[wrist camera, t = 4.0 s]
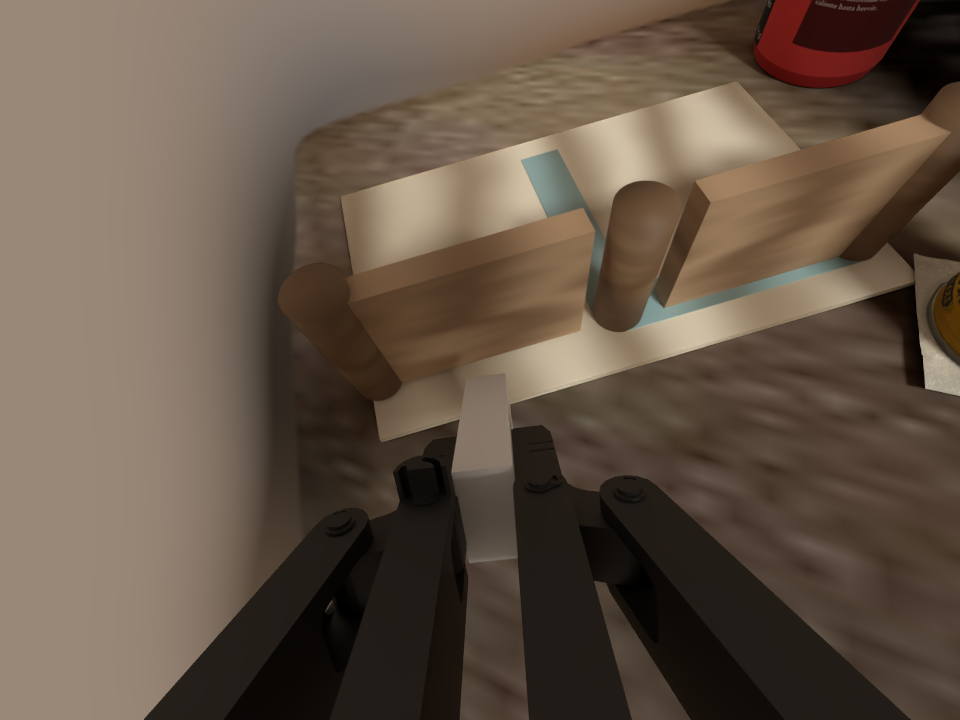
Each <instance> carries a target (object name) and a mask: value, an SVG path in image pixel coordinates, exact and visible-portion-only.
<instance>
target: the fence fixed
mask: <svg viewBox="0 0 960 720" xmlns="http://www.w3.org/2000/svg"><path fill="white" fill-rule="evenodd" d="M959 171H960V81H959V82H954V83H951V84H948V85H946V86H944V87H943V88H942V89H941V90H940V91H939V92H938V94H937V95H936V96H935V97H934V98H933V100H932V101H931V102H930V103H929V105H928V106H927V107H926V108H925V110H924V111H923V112H922V113H921V115H918V116H915V117H911V118H908V119H904V120H901V121H898V122H894V123H891V124H887V125H884V126H880V127H877V128H874V129H870V130H867V131H863V132H860V133H857V134H853V135H850V136H846V137H843V138H839V139H836V140H833V141H829V142H826V143H822V144H819V145H815V146H812V147H809V148H805V149H802V150H798V151H795V152H792V153H788V154H785V155H781V156H778V157H774V158H771V159H768V160H764V161H761V162H757V163H754V164H751V165H747V166H744V167H740V168H737V169H733V170H730V171H727V172H723V173H720V174H716V175H713V176H710V177H706V178H703V179H699V180H696V181H695V182H694V185H693V187H692V190H691V192H690V195H689V198H688V200H687V203H686V206H685V208H684V211H683V214H682V216H681V219H680V222H679V224H678V227H677V230H676V232H675V235H674V238H673V240H672V243H671V246H670V248H669V251H668V253H667V256H666V259H665V261H664V264H663V267H662V269H661V272H660V275H659V277H658V280H657V283H656V285H655V288H654V291H655V293H656V294H657V296H658V298H659V300H660V301H661V303H662V305H663V307H664V308H667V307H670V306H674V305H677V304H680V303H684V302H687V301H691V300H694V299H697V298H701V297H704V296H708V295H711V294H714V293H718V292H721V291H725V290H728V289H731V288H735V287H738V286H741V285H745V284H748V283H752V282H755V281H758V280H762V279H765V278H769V277H772V276H775V275H779V274H782V273H786V272H789V271H792V270H796V269H799V268H803V267H806V266H809V265H813V264H816V263H819V262H823V261H826V260H830V259H833V258H836V257H840V258H843V259H846V260H850V261H864V260H867V259H868V260H869V259H871V258H872V257H873V256H874V255H875V254H876V253H877V252H878V251H879V250H880V249H881V248H882V247H883V246H884V245H885V244H886V243H887V242H888V241H889V240H890V239H891V238H892V237H893V236H894V235H896V234H897V233H898V232H899V231H900V230H901V229H902V228H903V227H904V226H905V225H906V224H907V223H908V222H909V221H910V220H911V219H912V218H913V217H914V216H915V215H916V214H917V213H918V212H919V211H920V210H921V209H922V208H923V207H924V206H925V205H926V204H927V203H928V202H929V201H930V200H931V199H932V198H933V197H934V196H935V195H936V194H937V193H938V192H939V191H940V190H941V189H942V188H943V187H944V186H945V185H946V184H947V183H948V182H949V181H950V180H951V179H952V178H953V177H954V176H955V175H956V174H957V173H958V172H959ZM681 208H682V203H681V199H680V197H679V195H678V194H677V193H676V192H675V191H674V190H673V189H672V188H671V187H669V186H667V185H665V184H663V183H660V182H656V181H646V180H645V181H636V182H632V183H630V184H627V185H625V186H624V187H622V188H621V189H620V190H619V191H618V192H617V193H616V194H615V196H614V199H613V203H612V209H611V214H610V220H609V225H608V230H607V236H606V241H605V247H604V252H603V258H602V263H601V269H600V274H599V280H598V285H597V290H596V296H595V301H594V307H593V314H594V317H595V320H596V322H597V323H598V324H599V325H600V326H601V327H603V328H604V329H606V330H609V331H612V332H625V331H627V330H630V329H632V328H634V327H635V326H636V325H637V324H638V323H639V322H640V320H641V318H642V315H643V312H644V309H645V307H646V304H647V301H648V299H649V296H650V293H651V291H652V288H653V285H654V282H655V280H656V277H657V274H658V272H659V269H660V266H661V264H662V261H663V258H664V255H665V253H666V250H667V247H668V245H669V242H670V239H671V237H672V234H673V231H674V228H675V226H676V223H677V220H678V218H679V215H680V212H681Z"/></svg>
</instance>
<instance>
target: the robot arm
mask: <svg viewBox="0 0 960 720" xmlns="http://www.w3.org/2000/svg"><path fill="white" fill-rule="evenodd" d="M393 474H394V478H395V482H396V486H397V490H398V495H399V499H400V502H399V505H398V508H397V510H396V511H394V512H392V513H389V514H387V515H384V516H381V517H378V518H375V519H372V520H369V518H368V514H367V513H366V512H365V511H364V510H362V509H357V508H349V509H342V510H340V511H339V510H338V511H336V512H334V513H332V514H330V515H328V516H326V517H325V518H323V519H322V520H321V521H320V522H319V523H318V524H317V525H316V526H315V527H314V528H313V529H312V530H311V531H310V533H309V534H308V535H307V536H306V537H305V538H304V539H303V540H302V542H301V543H300V544H299V545H298V546H297V547H296V548H295V549H294V551H293V552H292V553H291V554H290V555H289V556H288V558H287V559H286V560H285V561H284V562H283V563H282V564H281V565H280V566H279V568H278V569H277V570H276V571H275V572H274V573H273V574H272V575H271V577H270V578H269V579H268V580H267V581H266V582H265V583H264V584H263V586H262V587H261V588H260V589H259V590H258V591H257V592H256V594H255V595H254V596H253V597H252V598H251V599H250V600H249V601H248V602H247V604H246V605H245V606H244V607H243V608H242V609H241V610H240V612H239V613H238V614H237V615H236V616H235V617H234V618H233V619H232V621H231V622H230V623H229V624H228V625H227V626H226V627H225V628H224V630H223V631H222V632H221V633H220V634H219V635H218V636H217V638H216V639H215V640H214V641H213V642H212V643H211V644H210V645H209V647H208V648H207V649H206V650H205V651H204V652H203V653H202V654H201V656H200V657H199V658H198V659H197V660H196V661H195V662H194V663H193V665H192V666H191V667H190V668H189V669H188V670H187V671H186V672H185V674H184V675H183V676H182V677H181V678H180V679H179V680H178V682H177V683H176V684H175V685H174V686H173V687H172V688H171V689H170V691H169V692H168V693H167V694H166V695H165V696H164V697H163V698H162V700H161V701H160V702H159V703H158V704H157V705H156V706H155V707H154V709H153V710H152V711H151V712H150V713H149V714H148V715H147V716H146V718H145V719H144V720H459V718H460V702H461V686H462V670H463V654H464V638H465V623H466V607H467V591H468V575H467V570H466V565H465V557H466V551H467V556H468V561H469V563H474V562H484V561H494V560H504V559H513V558H518V568H519V582H520V596H521V610H522V625H523V639H524V653H525V667H526V682H527V696H528V710H529V720H632V719H631V715H630V711H629V708H628V704H627V700H626V697H625V693H624V689H623V686H622V682H621V678H620V675H619V671H618V667H617V664H616V660H615V656H614V653H613V649H612V646H611V642H610V638H609V635H608V631H607V627H606V624H605V620H604V616H603V613H602V609H601V605H600V602H599V598H598V594H597V591H596V587H595V583H594V581H599V582H605V583H607V586H608V588H609V591H610V593H611V594H612V596H613V598H614V599H615V601H616V602H617V604H618V605H619V607H620V609H621V610H622V612H623V613H624V615H625V616H626V618H627V620H628V621H629V623H630V624H631V626H632V628H633V629H634V631H635V632H636V634H637V635H638V637H639V639H640V640H641V642H642V643H643V645H644V646H645V648H646V650H647V651H648V653H649V654H650V656H651V657H652V659H653V661H654V662H655V664H656V665H657V667H658V669H659V670H660V672H661V673H662V675H663V676H664V678H665V680H666V681H667V683H668V684H669V686H670V687H671V689H672V691H673V692H674V694H675V695H676V697H677V699H678V700H679V702H680V703H681V705H682V706H683V708H684V710H685V711H686V713H687V714H688V716H689V717H690V719H691V720H911V719H909V718H908V717H907V716H906V715H905V714H904V713H903V712H902V711H901V710H900V709H899V708H898V707H896V706H895V705H894V704H893V703H892V702H891V701H890V700H889V699H888V698H887V697H886V696H884V695H883V694H882V693H881V692H880V691H879V690H878V689H877V688H876V687H875V686H874V685H873V684H871V683H870V682H869V681H868V680H867V679H866V678H865V677H864V676H863V675H862V674H861V673H860V672H858V671H857V670H856V669H855V668H854V667H853V666H852V665H851V664H850V663H849V662H848V661H846V660H845V659H844V658H843V657H842V656H841V655H840V654H839V653H838V652H837V651H836V650H835V649H833V648H832V647H831V646H830V645H829V644H828V643H827V642H826V641H825V640H824V639H823V638H822V637H820V636H819V635H818V634H817V633H816V632H815V631H814V630H813V629H812V628H811V627H810V626H808V625H807V624H806V623H805V622H804V621H803V620H802V619H801V618H800V617H799V616H798V615H797V614H795V613H794V612H793V611H792V610H791V609H790V608H789V607H788V606H787V605H786V604H785V603H784V602H782V601H781V600H780V599H779V598H778V597H777V596H776V595H775V594H774V593H773V592H772V591H770V590H769V589H768V588H767V587H766V586H765V585H764V584H763V583H762V582H761V581H760V580H759V579H757V578H756V577H755V576H754V575H753V574H752V573H751V572H750V571H749V570H748V569H747V568H746V567H744V566H743V565H742V564H741V563H740V562H739V561H738V560H737V559H736V558H735V557H734V556H733V555H731V554H730V553H729V552H728V551H727V550H726V549H725V548H724V547H723V546H722V545H721V544H719V543H718V542H717V541H716V540H715V539H714V538H713V537H712V536H711V535H710V534H709V533H708V532H706V531H705V530H704V529H703V528H702V527H701V526H700V525H699V524H698V523H697V522H696V521H695V520H693V519H692V518H691V517H690V516H689V515H688V514H687V513H686V512H685V511H684V510H683V509H681V508H680V507H679V506H678V505H677V504H676V503H675V502H674V501H673V500H672V499H671V498H670V497H668V496H667V495H666V494H665V493H664V492H663V491H662V490H661V489H660V488H659V487H658V486H657V485H655V484H654V483H652V482H651V481H649V480H648V479H644V478H641V477H638V476H629V475H624V476H617V477H613V478H611V479H608V480H606V481H605V482H604V483H603V484H602V485H601V487H600V491H599V492H595V491H587V490H581V489H578V488H575V487H573V486H571V485H570V484H568V483H567V481H566V480H565V478H564V477H563V475H562V474H561V470H560V466H559V462H558V459H557V455H556V451H555V447H554V444H553V440H552V436H551V433H550V431H548V430H547V429H546V428H545V427H543V426H542V425H540V426H531V427H523V428H515V429H513V425H512V418H511V411H510V404H509V397H508V390H507V383H506V375H505V373H503V374H495V375H488V376H480V377H473V378H466V383H465V390H464V396H463V402H462V408H461V415H460V421H459V427H458V433H457V437H452V438H444V439H436V440H433V441H432V442H431V443H430V444H429V445H428V446H427V447H426V448H425V450H424V453H423V455H422V456H417V457H413V458H411V459H408V460H406V461H404V462H402V463H401V464H400V465H398V466H397V467H396V469H395V470H394V472H393ZM331 600H332V601H333V603H332V604H331V605H330V607H329V608H328V610H327V611H326V612H325V610H326V608H327V606H328V604H329V603H330V601H331Z"/></svg>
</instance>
